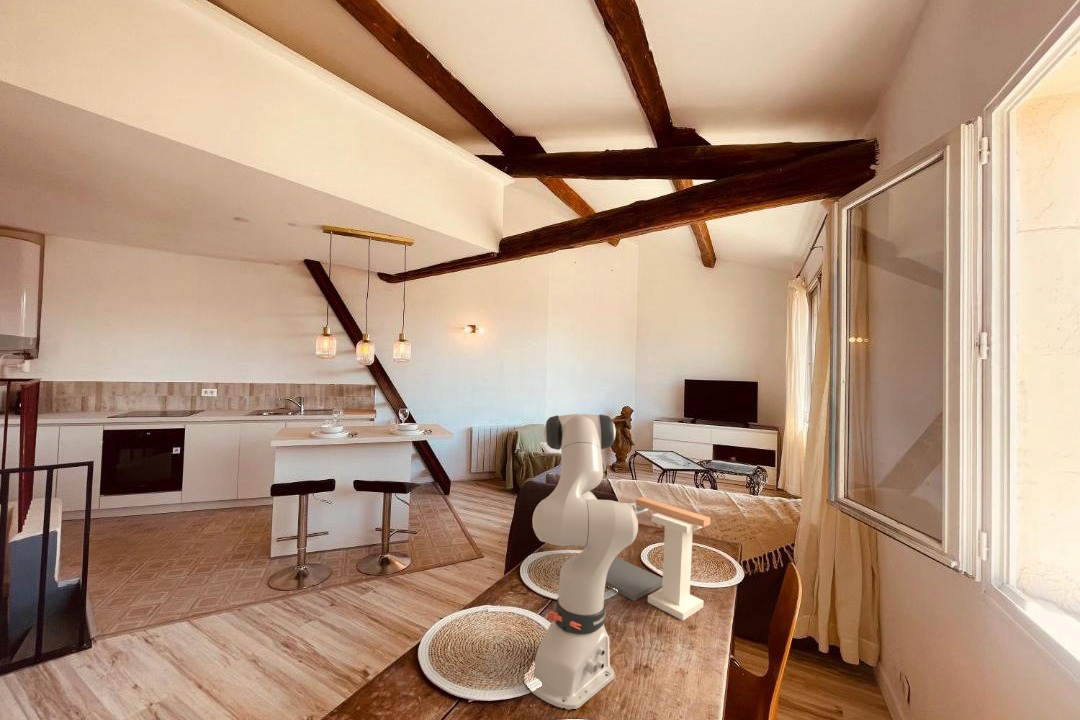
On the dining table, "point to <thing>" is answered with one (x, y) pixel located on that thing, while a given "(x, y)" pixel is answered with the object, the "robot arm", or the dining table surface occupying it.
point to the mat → (631, 579)
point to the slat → (674, 511)
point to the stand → (676, 569)
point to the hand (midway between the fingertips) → (641, 505)
